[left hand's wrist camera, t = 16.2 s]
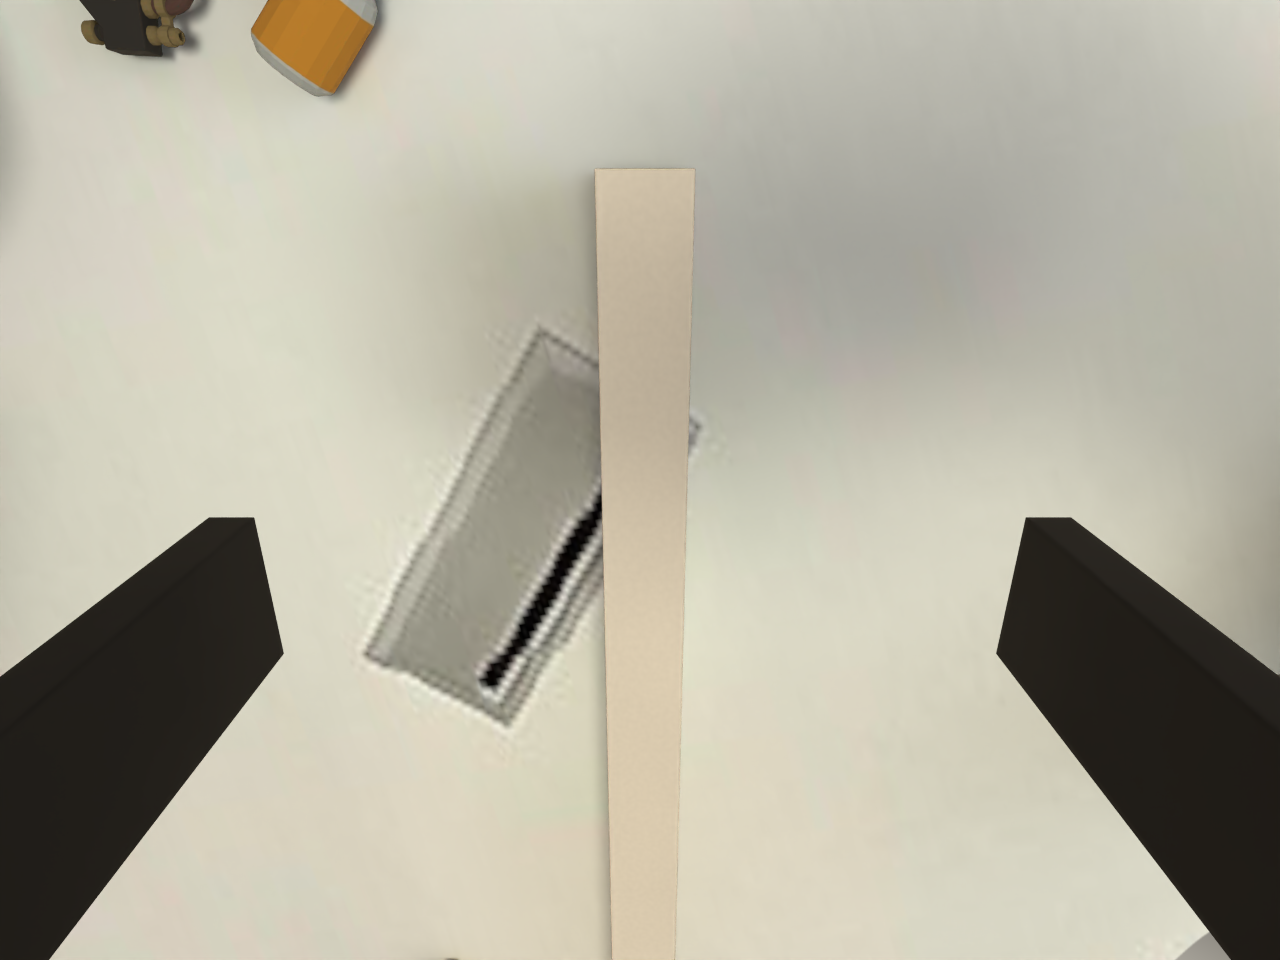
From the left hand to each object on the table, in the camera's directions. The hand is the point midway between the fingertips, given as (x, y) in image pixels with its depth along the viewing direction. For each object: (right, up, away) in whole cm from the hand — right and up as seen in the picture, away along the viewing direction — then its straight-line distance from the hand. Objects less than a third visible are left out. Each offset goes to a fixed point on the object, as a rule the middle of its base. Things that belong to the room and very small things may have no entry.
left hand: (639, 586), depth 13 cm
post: (0, -18, +42) cm, 46 cm away
